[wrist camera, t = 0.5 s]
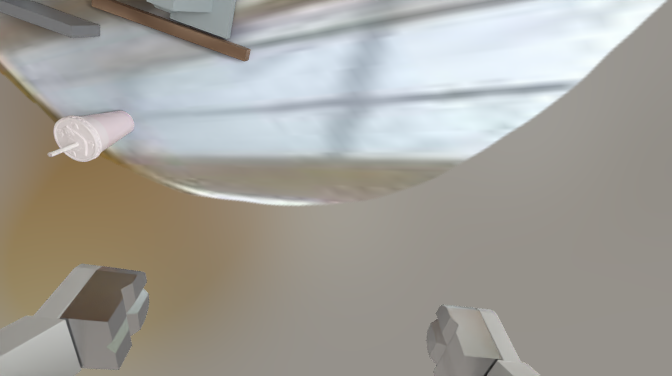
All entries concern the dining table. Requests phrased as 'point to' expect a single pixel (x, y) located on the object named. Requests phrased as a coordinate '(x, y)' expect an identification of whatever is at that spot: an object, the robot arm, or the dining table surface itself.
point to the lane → (173, 28)
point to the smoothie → (90, 134)
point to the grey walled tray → (49, 18)
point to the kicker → (201, 14)
